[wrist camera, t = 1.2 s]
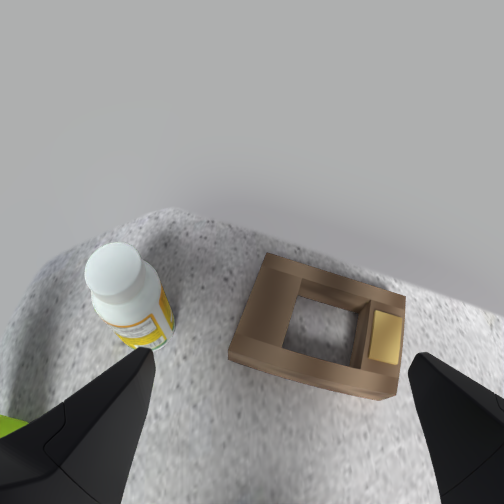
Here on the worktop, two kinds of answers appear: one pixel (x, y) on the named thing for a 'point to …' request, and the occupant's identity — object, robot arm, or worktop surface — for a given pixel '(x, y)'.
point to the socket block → (335, 294)
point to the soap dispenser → (9, 425)
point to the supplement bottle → (129, 296)
